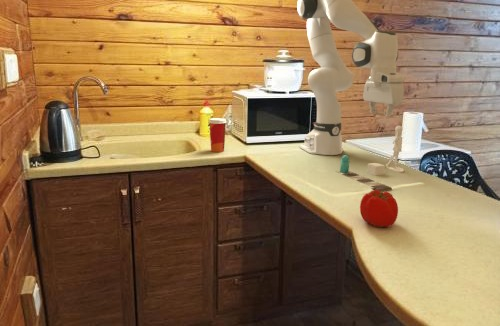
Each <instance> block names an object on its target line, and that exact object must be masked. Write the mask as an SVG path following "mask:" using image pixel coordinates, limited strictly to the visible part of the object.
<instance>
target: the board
mask: <svg viewBox="0 0 500 326" xmlns="http://www.w3.org/2000/svg"><path fill="white" fill-rule="evenodd" d="M335 173H337V174H340V175H342V176H345V177H348V178H349V179H352V180H355V181H357V182H358V183H362V184H365V185H366V186H369V187H371V191H373V190H378V191H381V192H388V191H392V190H393V188H392V187H391V186H388V185H386V184H383V183H381V182H379V181H376V180H374V179H371V178H368V177H365V176H363V175H360V174H358V173H356V172H352V171H350V170H349V173H341V172H340V170H337V171H335Z"/></svg>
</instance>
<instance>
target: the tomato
mask: <svg viewBox="0 0 500 326" xmlns="http://www.w3.org/2000/svg"><path fill="white" fill-rule="evenodd" d="M359 210H360V211H359V212H360V215H361V218H362V219H363V221H365V222H366V223H368V224H369V225H370V224H371V225H372V226H374V227H376V228H377V227H378V228H380V227H383V228H388V227H391V226H393V225H394V223H395V222H396V221H397V218H398V215H399V206H398V203H397V200H396V198H395V197H394V195H393V194H392V193H390V191H389V192H388V191H378V190H370V191H369V192H367V193H365V194H364V195H363V196H362V198H361V200H360V206H359Z"/></svg>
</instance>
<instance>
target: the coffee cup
mask: <svg viewBox="0 0 500 326" xmlns="http://www.w3.org/2000/svg"><path fill="white" fill-rule="evenodd" d="M226 123H227V120H226V118H222V117H221V118H220V117H213V118H209V121H208V124H209V140H210V151H211V152H212V153H222V152H224V151H225V141H226V140H225V139H226V125H227V124H226Z"/></svg>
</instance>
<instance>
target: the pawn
mask: <svg viewBox="0 0 500 326" xmlns="http://www.w3.org/2000/svg"><path fill="white" fill-rule="evenodd" d="M339 171H340V172H341V173H347V174H348V173H349V171H350V157H349V156H348V155H346V154H345V155H342V156H341V160H340V170H339Z"/></svg>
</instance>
